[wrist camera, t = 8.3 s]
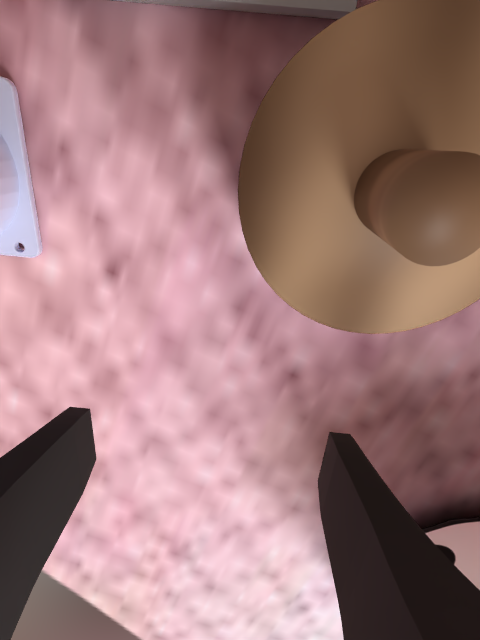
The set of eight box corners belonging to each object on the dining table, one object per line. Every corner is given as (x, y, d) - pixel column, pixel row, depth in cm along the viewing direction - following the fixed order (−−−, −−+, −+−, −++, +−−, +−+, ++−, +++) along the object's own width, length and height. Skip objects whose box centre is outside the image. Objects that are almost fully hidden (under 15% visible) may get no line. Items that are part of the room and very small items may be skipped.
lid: (236, 320, 17) (229, 381, 13) (241, -2, 12) (232, -85, 8) (494, 330, 16) (577, 396, 12) (612, 0, 11) (826, -86, 7)
